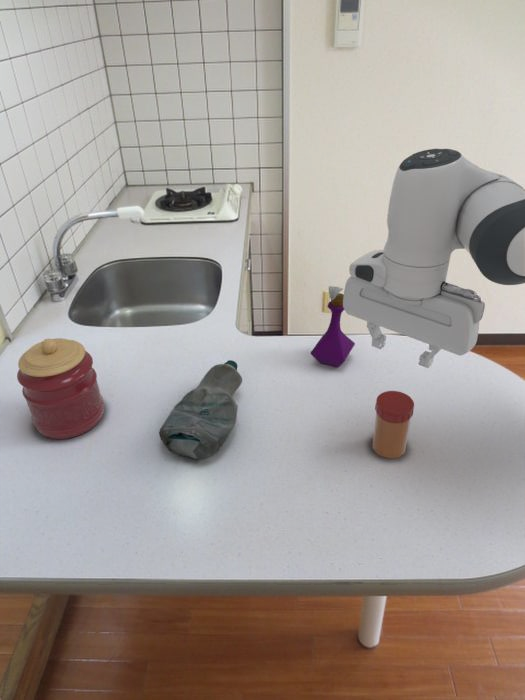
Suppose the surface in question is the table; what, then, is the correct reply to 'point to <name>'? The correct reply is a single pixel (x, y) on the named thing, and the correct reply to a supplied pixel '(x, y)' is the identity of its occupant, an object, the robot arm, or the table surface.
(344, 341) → the purple potion bottle
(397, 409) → the jar lid
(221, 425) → the crushed plastic bottle
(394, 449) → the jam jar
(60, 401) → the kitchen canister
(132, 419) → the table surface
